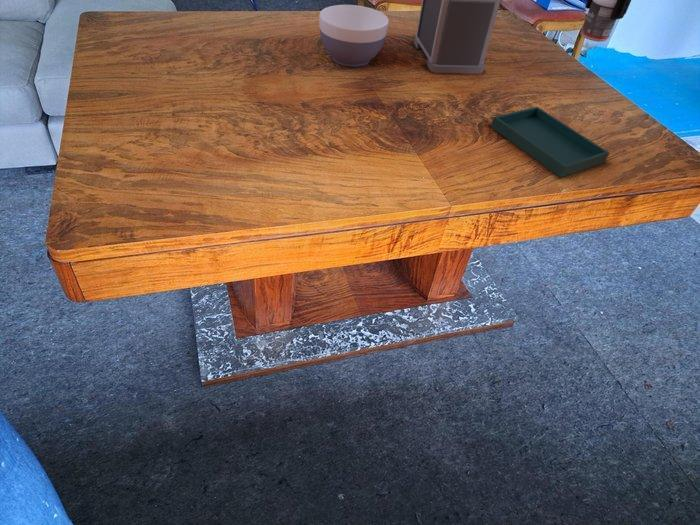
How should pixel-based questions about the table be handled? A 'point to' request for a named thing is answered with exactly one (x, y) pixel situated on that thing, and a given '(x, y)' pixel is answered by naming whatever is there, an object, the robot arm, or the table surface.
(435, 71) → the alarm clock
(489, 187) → the table surface
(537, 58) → the table surface
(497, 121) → the tray
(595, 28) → the pill bottle
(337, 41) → the bowl
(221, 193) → the table surface
